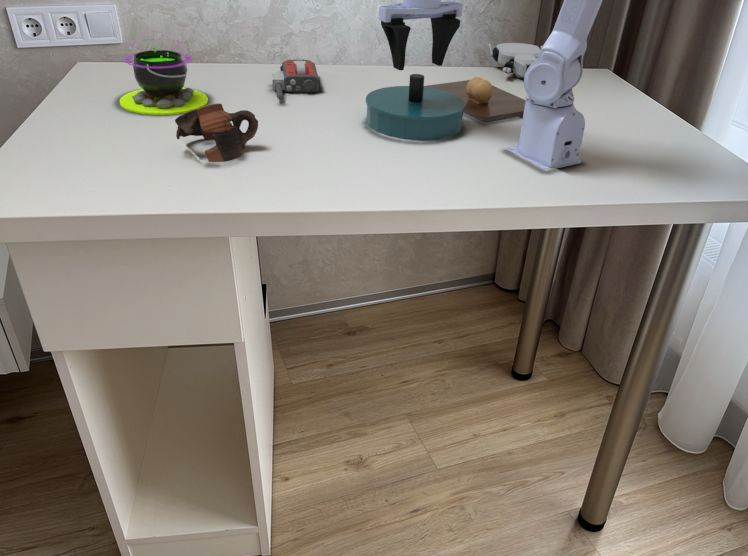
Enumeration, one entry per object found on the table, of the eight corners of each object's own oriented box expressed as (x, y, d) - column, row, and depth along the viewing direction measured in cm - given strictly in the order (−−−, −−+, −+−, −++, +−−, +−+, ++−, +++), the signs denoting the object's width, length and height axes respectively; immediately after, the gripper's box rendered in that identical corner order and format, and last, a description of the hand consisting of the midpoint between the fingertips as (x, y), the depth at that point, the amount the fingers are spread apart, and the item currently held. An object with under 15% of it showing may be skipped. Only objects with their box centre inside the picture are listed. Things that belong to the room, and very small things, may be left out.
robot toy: (555, 86, 147) (538, 62, 158) (560, 64, 144) (542, 41, 155) (499, 85, 146) (485, 60, 157) (502, 63, 143) (488, 39, 154)
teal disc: (484, 115, 116) (488, 84, 113) (399, 129, 108) (401, 96, 105) (427, 87, 127) (430, 58, 124) (347, 98, 119) (347, 67, 116)
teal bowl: (479, 135, 118) (482, 111, 116) (399, 149, 110) (401, 124, 108) (426, 106, 129) (428, 85, 126) (350, 118, 121) (350, 95, 119)
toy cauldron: (188, 119, 116) (179, 49, 110) (103, 109, 118) (89, 40, 111) (220, 93, 128) (214, 29, 122) (143, 85, 130) (133, 21, 123)
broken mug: (192, 173, 100) (167, 116, 97) (193, 177, 108) (170, 125, 106) (270, 145, 102) (248, 88, 100) (265, 151, 111) (244, 99, 109)
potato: (496, 104, 128) (499, 81, 126) (478, 106, 127) (481, 84, 124) (477, 95, 132) (480, 73, 130) (460, 97, 130) (463, 75, 128)
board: (542, 114, 129) (543, 107, 128) (483, 124, 122) (484, 117, 122) (476, 84, 142) (477, 78, 141) (420, 92, 136) (420, 86, 135)
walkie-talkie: (271, 74, 140) (274, 105, 124) (270, 50, 137) (272, 80, 122) (315, 74, 142) (323, 105, 126) (314, 51, 139) (323, 80, 123)
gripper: (447, -33, 112) (440, 56, 120) (369, -30, 105) (367, 64, 113) (474, -26, 107) (464, 67, 115) (394, -22, 100) (390, 75, 108)
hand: (418, 66), depth 114 cm, fingers open, 7 cm apart
